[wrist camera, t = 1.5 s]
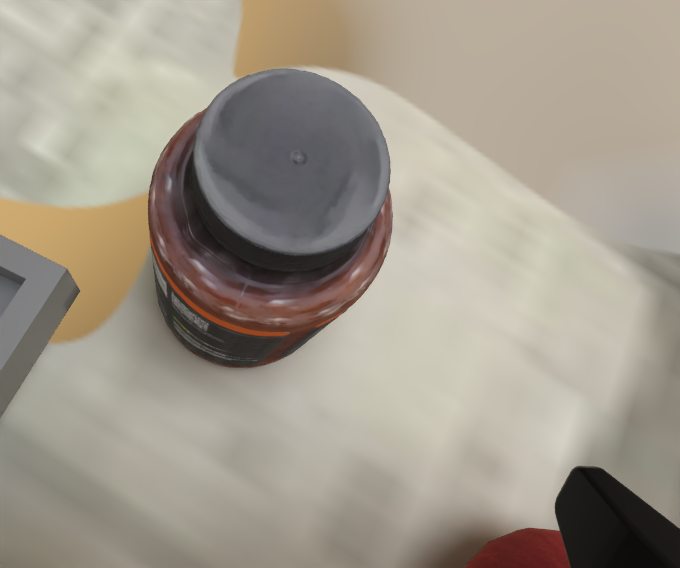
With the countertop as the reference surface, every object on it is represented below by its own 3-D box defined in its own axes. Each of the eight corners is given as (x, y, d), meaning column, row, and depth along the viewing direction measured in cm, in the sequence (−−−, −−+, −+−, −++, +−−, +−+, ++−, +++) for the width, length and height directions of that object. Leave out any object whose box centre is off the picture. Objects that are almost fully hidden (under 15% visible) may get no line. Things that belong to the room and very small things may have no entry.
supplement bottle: (333, 230, 25) (458, 69, 14) (307, 384, 23) (426, 335, 12) (176, 192, 23) (181, -15, 13) (137, 352, 22) (105, 268, 11)
